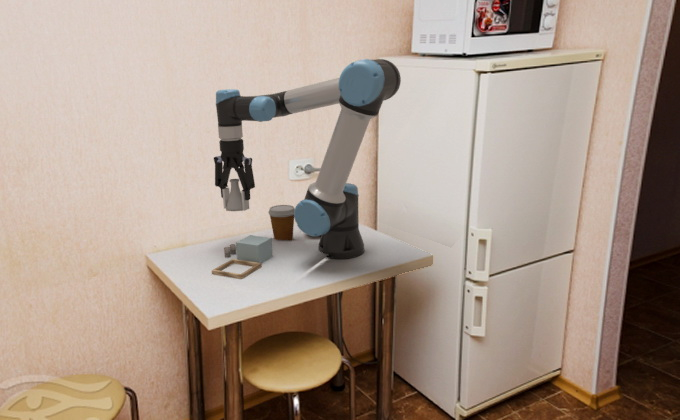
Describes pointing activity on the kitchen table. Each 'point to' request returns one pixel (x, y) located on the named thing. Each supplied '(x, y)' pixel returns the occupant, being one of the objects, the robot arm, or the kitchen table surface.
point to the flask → (234, 197)
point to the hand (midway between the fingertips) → (236, 208)
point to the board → (232, 251)
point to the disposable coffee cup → (282, 221)
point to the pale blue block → (254, 249)
